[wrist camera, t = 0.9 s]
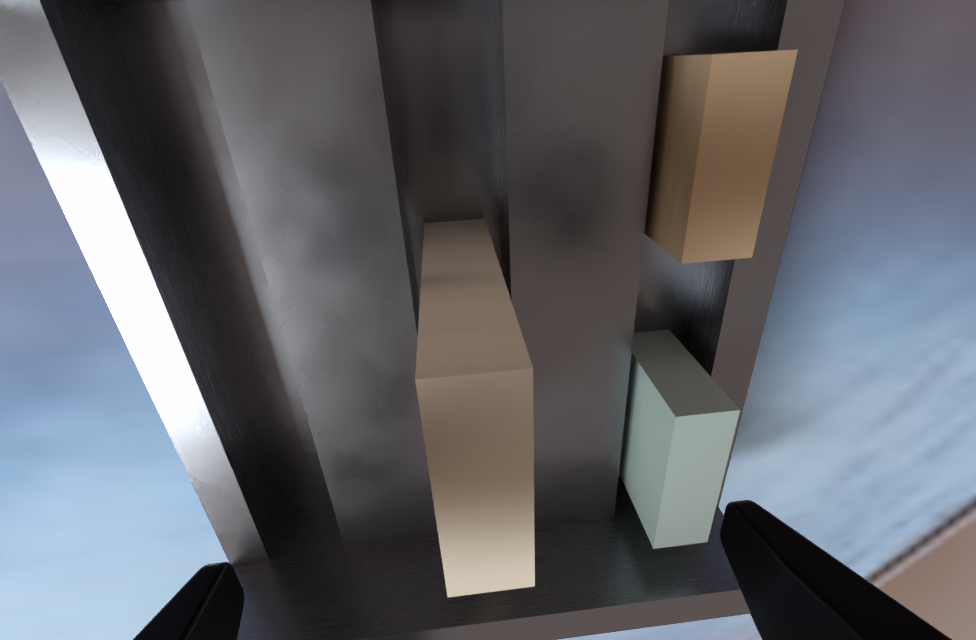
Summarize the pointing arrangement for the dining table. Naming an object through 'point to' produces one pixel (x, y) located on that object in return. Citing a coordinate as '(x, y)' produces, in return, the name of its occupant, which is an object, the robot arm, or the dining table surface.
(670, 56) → the offcut
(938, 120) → the dining table surface
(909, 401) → the dining table surface
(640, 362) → the offcut
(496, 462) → the birch panel
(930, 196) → the dining table surface
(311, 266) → the rack
